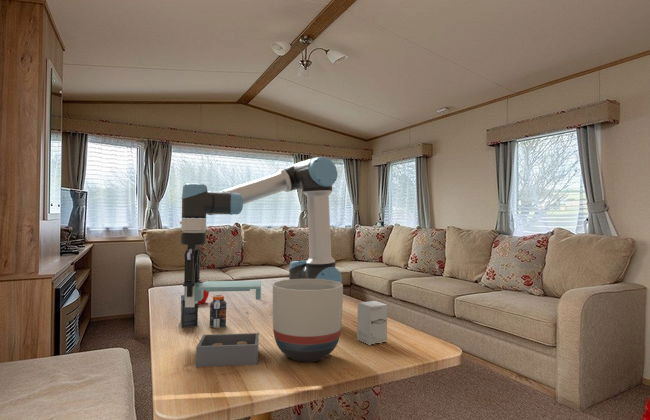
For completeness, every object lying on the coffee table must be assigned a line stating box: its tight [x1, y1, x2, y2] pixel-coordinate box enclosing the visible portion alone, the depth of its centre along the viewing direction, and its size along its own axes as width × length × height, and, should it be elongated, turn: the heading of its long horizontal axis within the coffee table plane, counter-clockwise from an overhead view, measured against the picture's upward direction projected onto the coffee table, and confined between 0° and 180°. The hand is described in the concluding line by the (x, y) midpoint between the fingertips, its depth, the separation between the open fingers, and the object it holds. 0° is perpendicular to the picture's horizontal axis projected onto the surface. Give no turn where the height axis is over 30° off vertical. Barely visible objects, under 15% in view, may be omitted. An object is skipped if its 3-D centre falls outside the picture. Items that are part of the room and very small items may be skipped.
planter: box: [272, 279, 344, 363], centre depth 110 cm, size 20×20×21 cm
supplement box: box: [356, 300, 388, 346], centre depth 126 cm, size 7×7×13 cm
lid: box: [183, 280, 262, 301], centre depth 122 cm, size 24×12×5 cm, turn 98°
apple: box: [198, 290, 210, 305], centre depth 180 cm, size 9×9×8 cm
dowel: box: [237, 341, 247, 345], centre depth 107 cm, size 3×3×4 cm
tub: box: [195, 332, 260, 368], centre depth 106 cm, size 16×11×6 cm
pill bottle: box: [209, 294, 227, 329], centre depth 142 cm, size 6×6×11 cm
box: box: [180, 294, 199, 329], centre depth 143 cm, size 8×6×11 cm
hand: (191, 304), depth 120 cm, fingers closed on lid, 4 cm apart
